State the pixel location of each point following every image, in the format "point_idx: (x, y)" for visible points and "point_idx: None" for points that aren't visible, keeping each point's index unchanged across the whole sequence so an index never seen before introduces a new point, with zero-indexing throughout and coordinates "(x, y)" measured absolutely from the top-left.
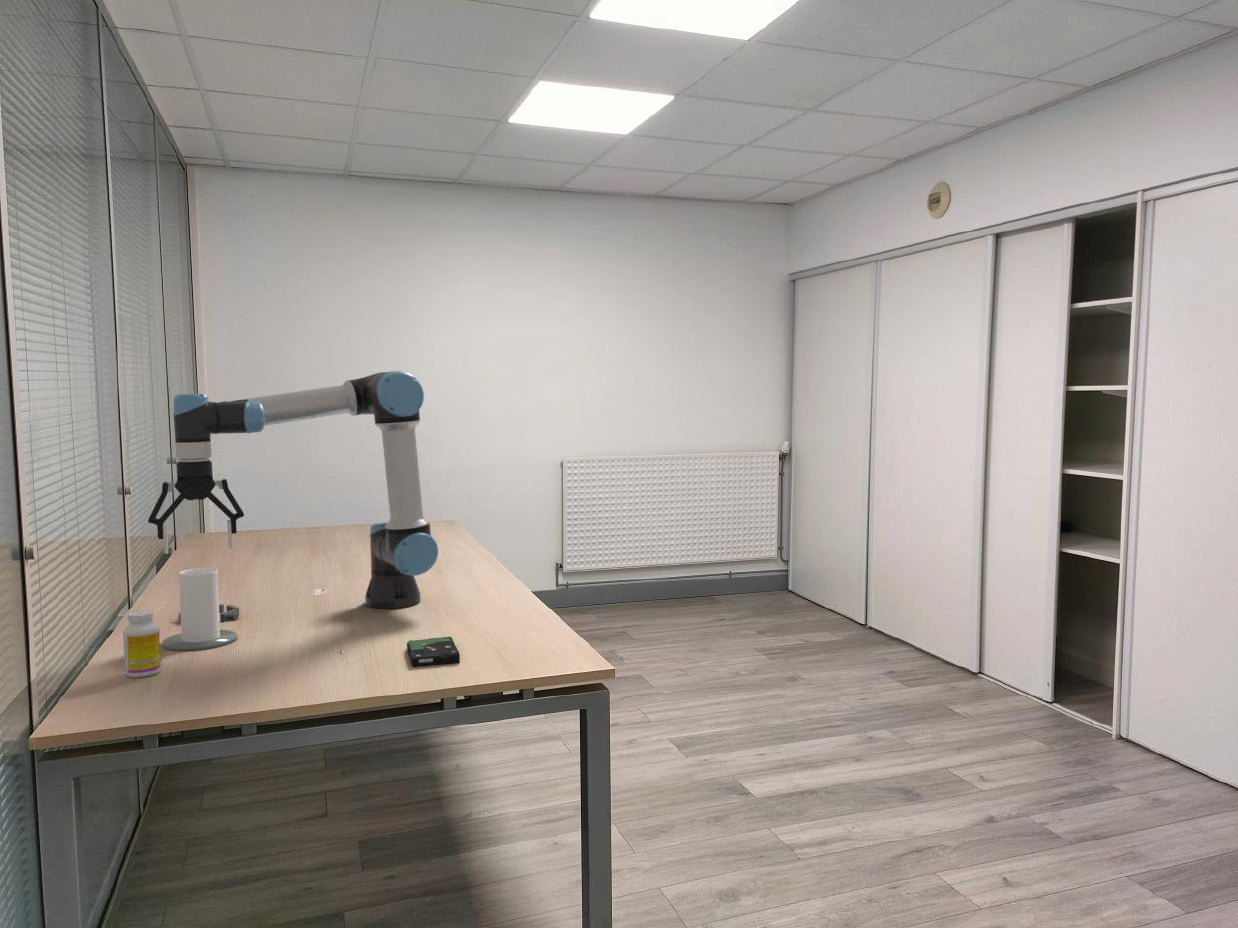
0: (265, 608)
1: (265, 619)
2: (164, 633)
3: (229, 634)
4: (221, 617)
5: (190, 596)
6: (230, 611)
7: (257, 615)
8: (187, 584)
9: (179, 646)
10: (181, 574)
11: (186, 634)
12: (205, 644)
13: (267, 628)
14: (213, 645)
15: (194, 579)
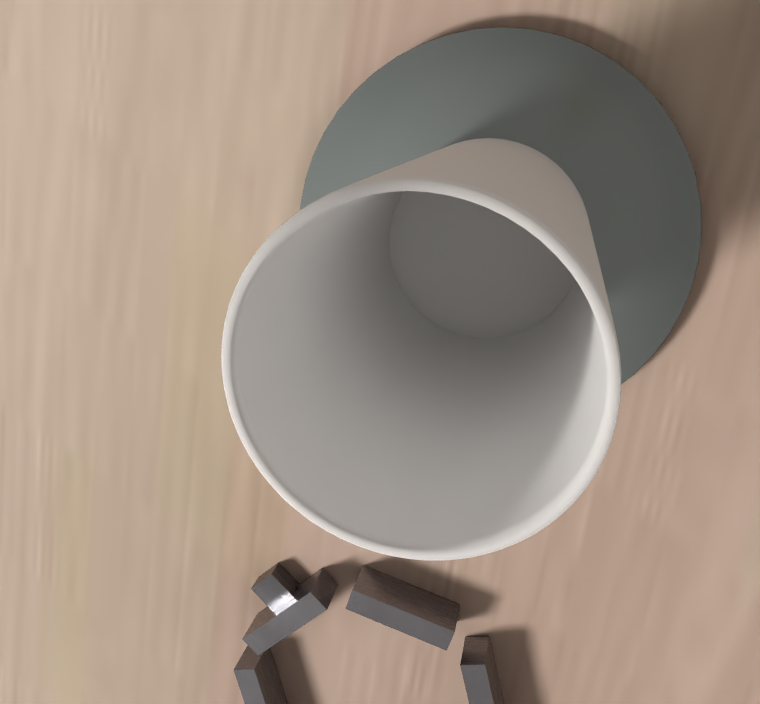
0: (136, 684)
1: (150, 496)
2: (620, 528)
3: None
4: (327, 592)
5: (541, 189)
6: (276, 627)
7: (176, 589)
8: (561, 221)
9: (631, 106)
10: (611, 324)
11: (574, 189)
12: (488, 66)
13: (153, 316)
14: (449, 35)
15: (490, 186)
